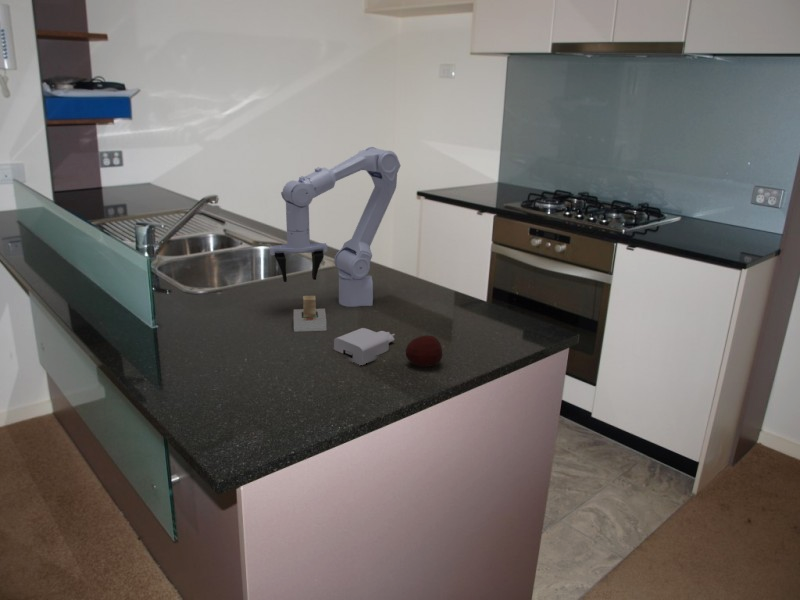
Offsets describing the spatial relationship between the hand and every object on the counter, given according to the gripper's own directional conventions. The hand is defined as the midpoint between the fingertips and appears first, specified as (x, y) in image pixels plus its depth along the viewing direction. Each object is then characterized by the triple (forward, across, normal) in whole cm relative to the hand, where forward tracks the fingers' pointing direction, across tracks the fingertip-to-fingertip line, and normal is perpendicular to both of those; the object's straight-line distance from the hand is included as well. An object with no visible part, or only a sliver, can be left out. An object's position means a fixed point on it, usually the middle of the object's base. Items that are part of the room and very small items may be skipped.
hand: (299, 279), depth 167 cm
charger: (+11, -13, +26) cm, 31 cm away
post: (+9, -1, +10) cm, 13 cm away
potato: (+11, -22, +36) cm, 44 cm away
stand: (+10, -1, +10) cm, 14 cm away
